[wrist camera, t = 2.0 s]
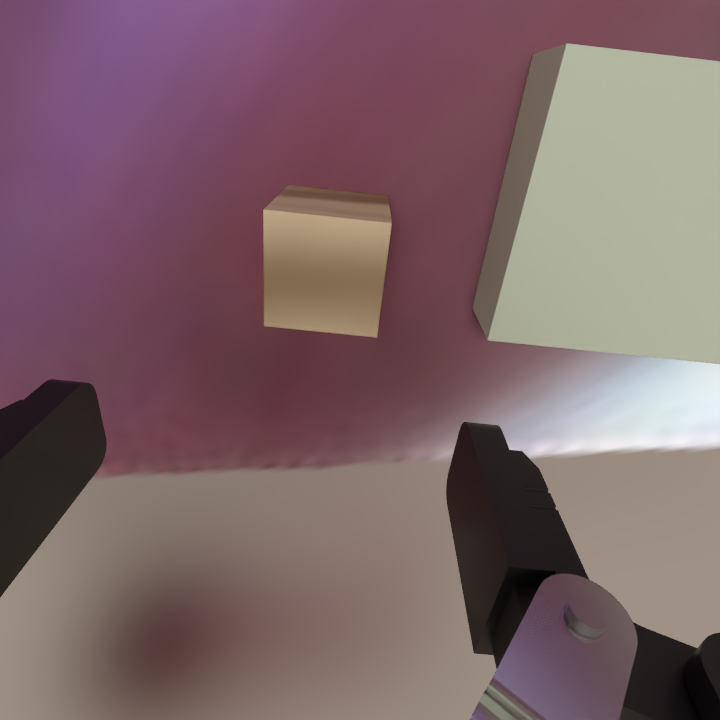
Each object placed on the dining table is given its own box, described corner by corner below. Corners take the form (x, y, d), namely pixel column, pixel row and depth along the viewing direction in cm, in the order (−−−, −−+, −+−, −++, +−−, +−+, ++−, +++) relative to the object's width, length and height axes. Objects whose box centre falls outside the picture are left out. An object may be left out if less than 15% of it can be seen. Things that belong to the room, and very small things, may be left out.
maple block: (288, 184, 23) (263, 209, 18) (387, 195, 23) (391, 223, 18) (286, 279, 25) (264, 325, 20) (376, 289, 25) (376, 337, 20)
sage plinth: (532, 53, 20) (566, 43, 16) (801, 85, 20) (890, 81, 17) (472, 308, 26) (487, 340, 22) (680, 329, 26) (727, 364, 22)
